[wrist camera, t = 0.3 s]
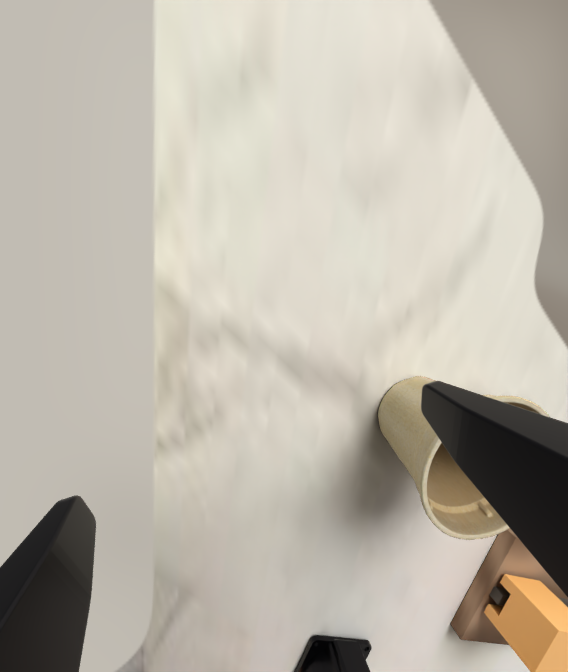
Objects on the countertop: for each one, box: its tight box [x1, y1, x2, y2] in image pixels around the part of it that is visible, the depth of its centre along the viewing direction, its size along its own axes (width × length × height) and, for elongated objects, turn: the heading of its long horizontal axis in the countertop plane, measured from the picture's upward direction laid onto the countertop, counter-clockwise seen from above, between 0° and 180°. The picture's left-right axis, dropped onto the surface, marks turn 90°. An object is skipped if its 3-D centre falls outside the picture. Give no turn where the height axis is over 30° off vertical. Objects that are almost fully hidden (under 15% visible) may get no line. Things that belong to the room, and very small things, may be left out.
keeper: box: [484, 574, 568, 672], centre depth 30 cm, size 4×5×5 cm
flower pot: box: [378, 376, 550, 540], centre depth 24 cm, size 9×9×9 cm
